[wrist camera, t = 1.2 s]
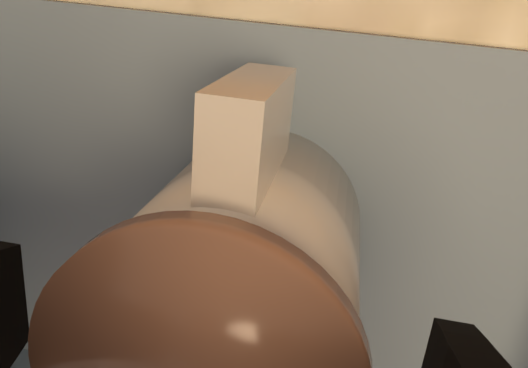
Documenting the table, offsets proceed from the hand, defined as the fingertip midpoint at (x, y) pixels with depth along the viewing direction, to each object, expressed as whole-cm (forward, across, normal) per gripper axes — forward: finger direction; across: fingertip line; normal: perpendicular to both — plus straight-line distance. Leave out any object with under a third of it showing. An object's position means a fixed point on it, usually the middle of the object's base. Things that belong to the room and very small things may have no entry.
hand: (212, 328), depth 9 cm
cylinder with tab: (+5, 0, 0) cm, 5 cm away
